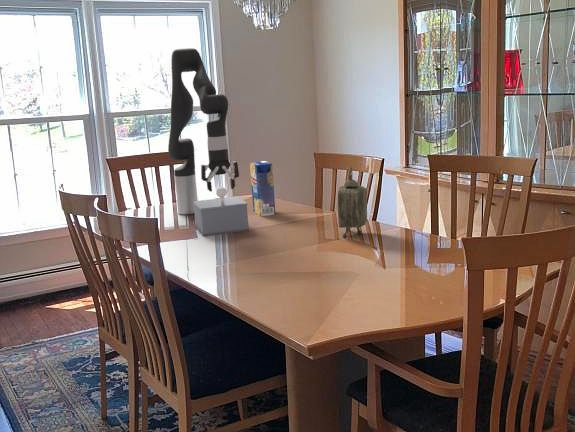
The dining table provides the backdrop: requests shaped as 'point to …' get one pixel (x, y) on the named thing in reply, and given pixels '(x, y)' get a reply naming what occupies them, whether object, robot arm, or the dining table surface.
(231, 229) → the carton
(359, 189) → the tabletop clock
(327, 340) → the dining table surface
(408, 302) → the dining table surface
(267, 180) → the beverage box
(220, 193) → the lid flap
